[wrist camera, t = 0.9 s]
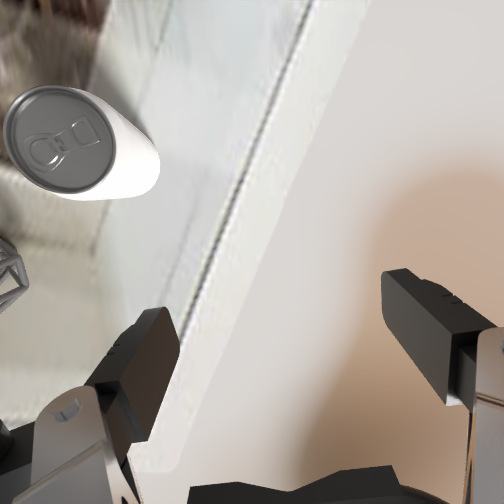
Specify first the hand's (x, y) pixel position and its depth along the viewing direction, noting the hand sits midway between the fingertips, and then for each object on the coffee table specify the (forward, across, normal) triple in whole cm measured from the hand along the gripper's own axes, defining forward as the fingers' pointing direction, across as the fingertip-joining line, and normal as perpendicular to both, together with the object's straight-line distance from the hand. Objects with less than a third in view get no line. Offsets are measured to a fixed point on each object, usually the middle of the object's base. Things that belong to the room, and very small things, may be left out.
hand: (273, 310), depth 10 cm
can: (+19, +12, -7) cm, 24 cm away
